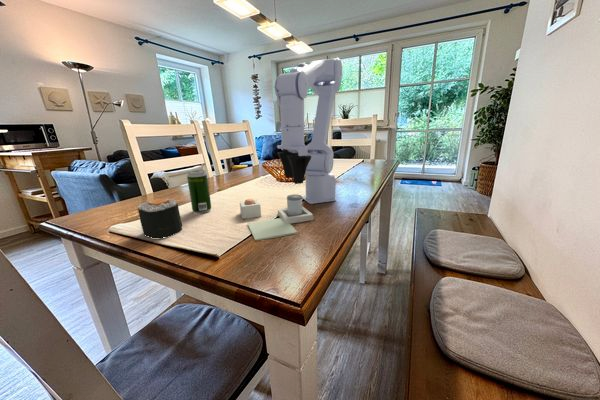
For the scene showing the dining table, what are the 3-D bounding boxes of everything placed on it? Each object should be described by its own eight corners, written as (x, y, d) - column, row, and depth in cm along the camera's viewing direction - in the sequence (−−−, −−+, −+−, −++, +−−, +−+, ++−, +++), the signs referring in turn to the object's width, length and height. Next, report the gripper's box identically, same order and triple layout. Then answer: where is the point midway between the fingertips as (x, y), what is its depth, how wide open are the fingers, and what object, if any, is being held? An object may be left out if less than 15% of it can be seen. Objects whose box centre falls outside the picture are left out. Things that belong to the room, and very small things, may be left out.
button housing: (257, 210, 74) (256, 199, 73) (261, 216, 69) (260, 204, 68) (240, 212, 72) (239, 201, 71) (243, 218, 68) (242, 206, 67)
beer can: (214, 211, 74) (209, 171, 70) (196, 215, 71) (189, 174, 67) (208, 206, 78) (202, 169, 74) (190, 210, 75) (184, 171, 71)
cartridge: (299, 213, 71) (298, 193, 69) (304, 218, 67) (304, 197, 65) (285, 215, 69) (285, 195, 68) (290, 220, 66) (289, 199, 64)
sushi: (167, 222, 66) (162, 194, 64) (188, 228, 62) (183, 198, 60) (136, 234, 59) (129, 203, 57) (158, 241, 56) (151, 208, 53)
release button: (253, 206, 72) (252, 198, 71) (255, 209, 70) (254, 200, 69) (245, 207, 71) (244, 199, 70) (246, 210, 69) (245, 202, 68)
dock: (302, 210, 73) (302, 206, 72) (313, 219, 66) (313, 214, 66) (277, 214, 70) (277, 209, 70) (286, 224, 64) (285, 218, 63)
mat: (284, 218, 67) (284, 217, 67) (297, 233, 58) (297, 231, 58) (247, 224, 64) (247, 223, 64) (255, 241, 55) (255, 239, 55)
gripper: (269, 126, 66) (272, 176, 70) (286, 127, 53) (288, 188, 57) (294, 126, 68) (295, 174, 73) (315, 126, 55) (315, 185, 60)
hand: (293, 180), depth 65 cm, fingers open, 6 cm apart
